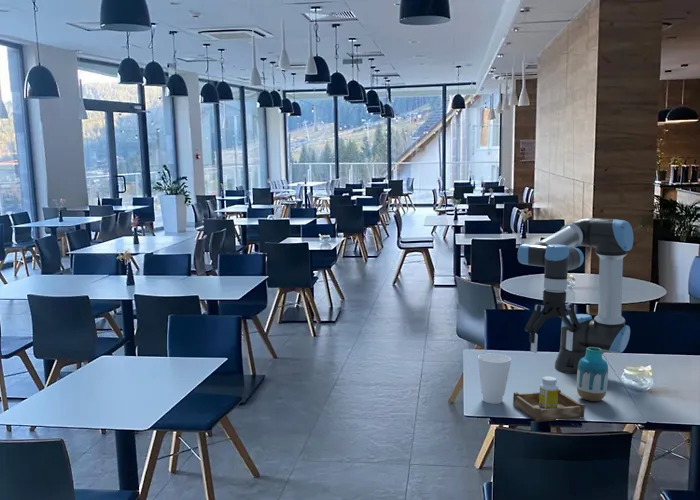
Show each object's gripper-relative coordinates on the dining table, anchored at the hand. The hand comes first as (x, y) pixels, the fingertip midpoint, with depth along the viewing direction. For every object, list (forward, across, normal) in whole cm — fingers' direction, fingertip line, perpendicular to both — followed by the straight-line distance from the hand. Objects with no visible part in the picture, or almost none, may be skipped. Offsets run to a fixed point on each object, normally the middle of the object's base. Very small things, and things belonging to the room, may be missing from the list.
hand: (551, 350), depth 229 cm
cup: (+22, +14, -14) cm, 29 cm away
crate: (+22, 0, 0) cm, 22 cm away
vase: (+22, -22, -7) cm, 32 cm away
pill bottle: (+21, 0, 0) cm, 21 cm away
